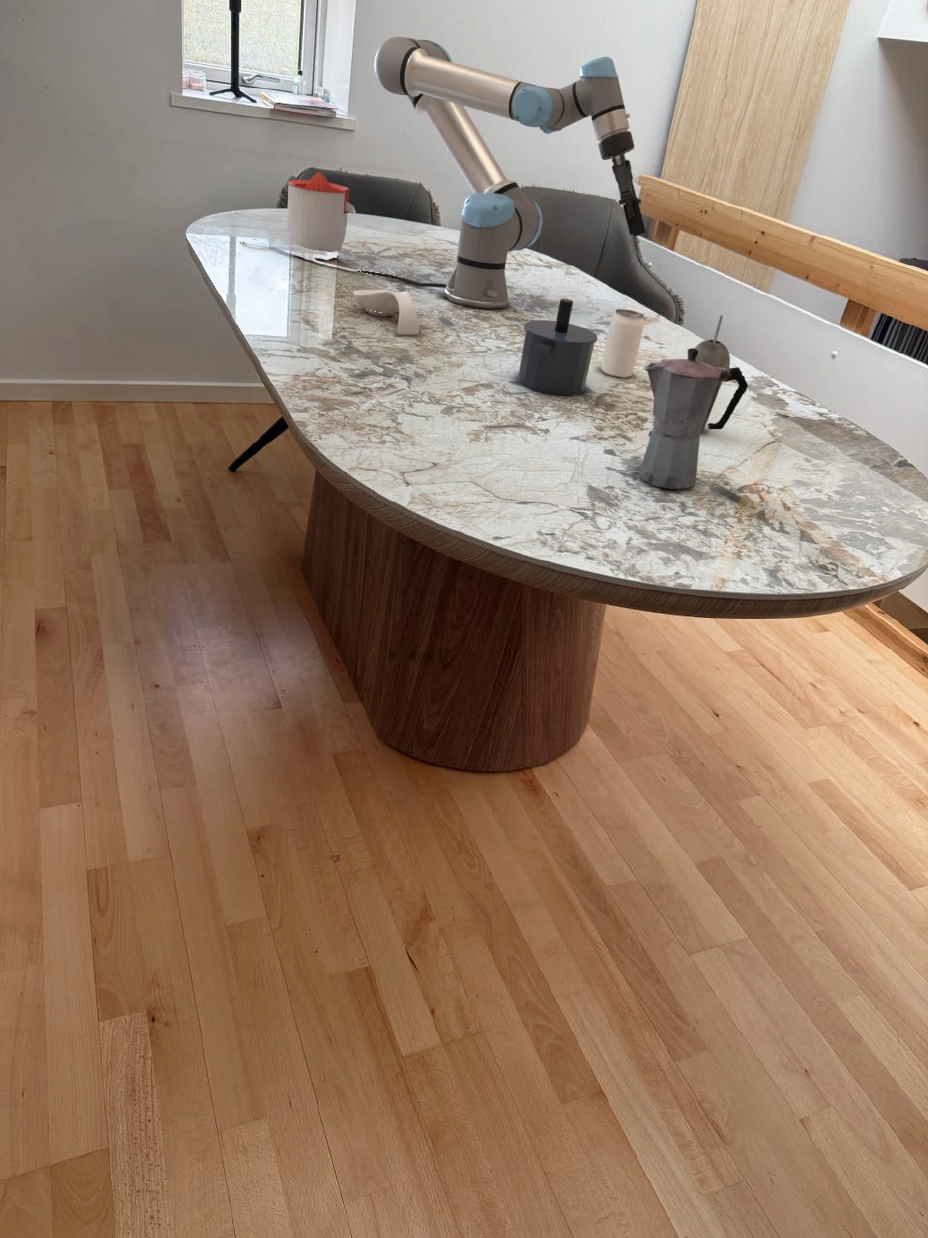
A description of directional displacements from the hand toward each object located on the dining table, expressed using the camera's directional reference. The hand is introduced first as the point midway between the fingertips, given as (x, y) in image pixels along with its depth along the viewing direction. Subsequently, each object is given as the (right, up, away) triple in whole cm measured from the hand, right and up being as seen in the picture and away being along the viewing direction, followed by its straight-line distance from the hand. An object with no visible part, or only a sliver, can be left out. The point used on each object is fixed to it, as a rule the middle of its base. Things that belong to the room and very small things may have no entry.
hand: (638, 233), depth 212 cm
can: (-9, -38, -24) cm, 46 cm away
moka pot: (-9, -67, -70) cm, 97 cm away
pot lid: (-22, -35, -41) cm, 59 cm away
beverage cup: (0, -54, -47) cm, 72 cm away
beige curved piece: (-56, -24, -14) cm, 63 cm away
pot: (-23, -43, -37) cm, 61 cm away
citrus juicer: (-78, +7, +30) cm, 84 cm away
